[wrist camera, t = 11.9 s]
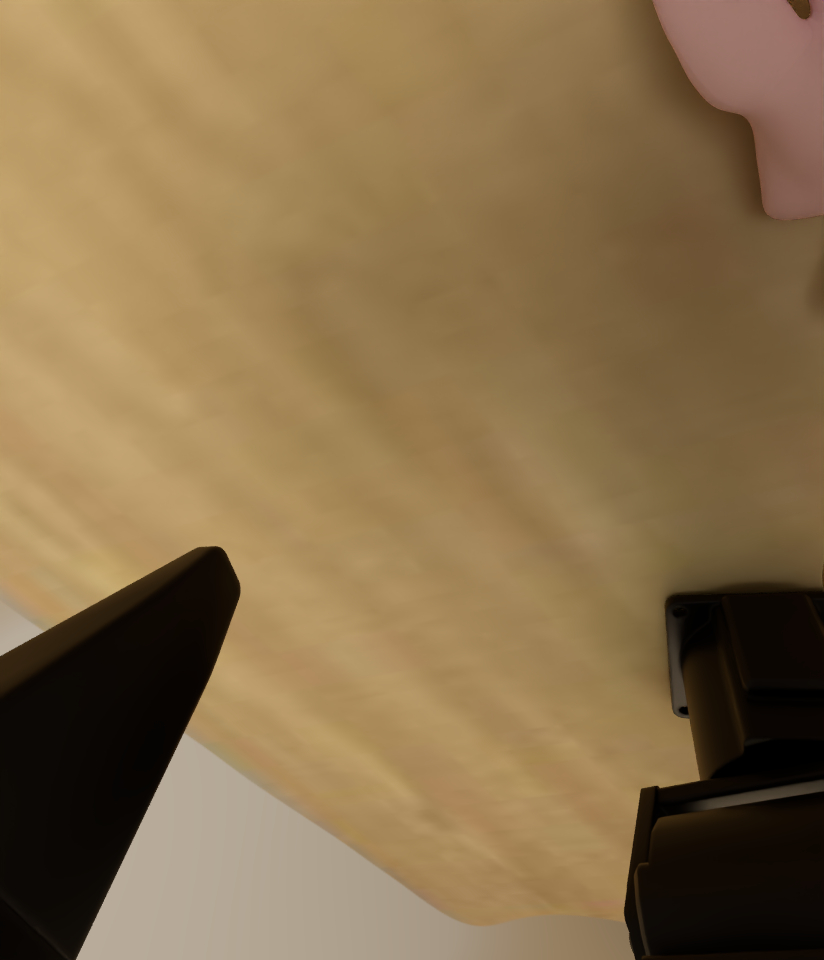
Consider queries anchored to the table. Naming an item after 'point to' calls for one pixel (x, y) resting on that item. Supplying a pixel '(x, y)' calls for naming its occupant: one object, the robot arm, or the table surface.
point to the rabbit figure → (761, 86)
